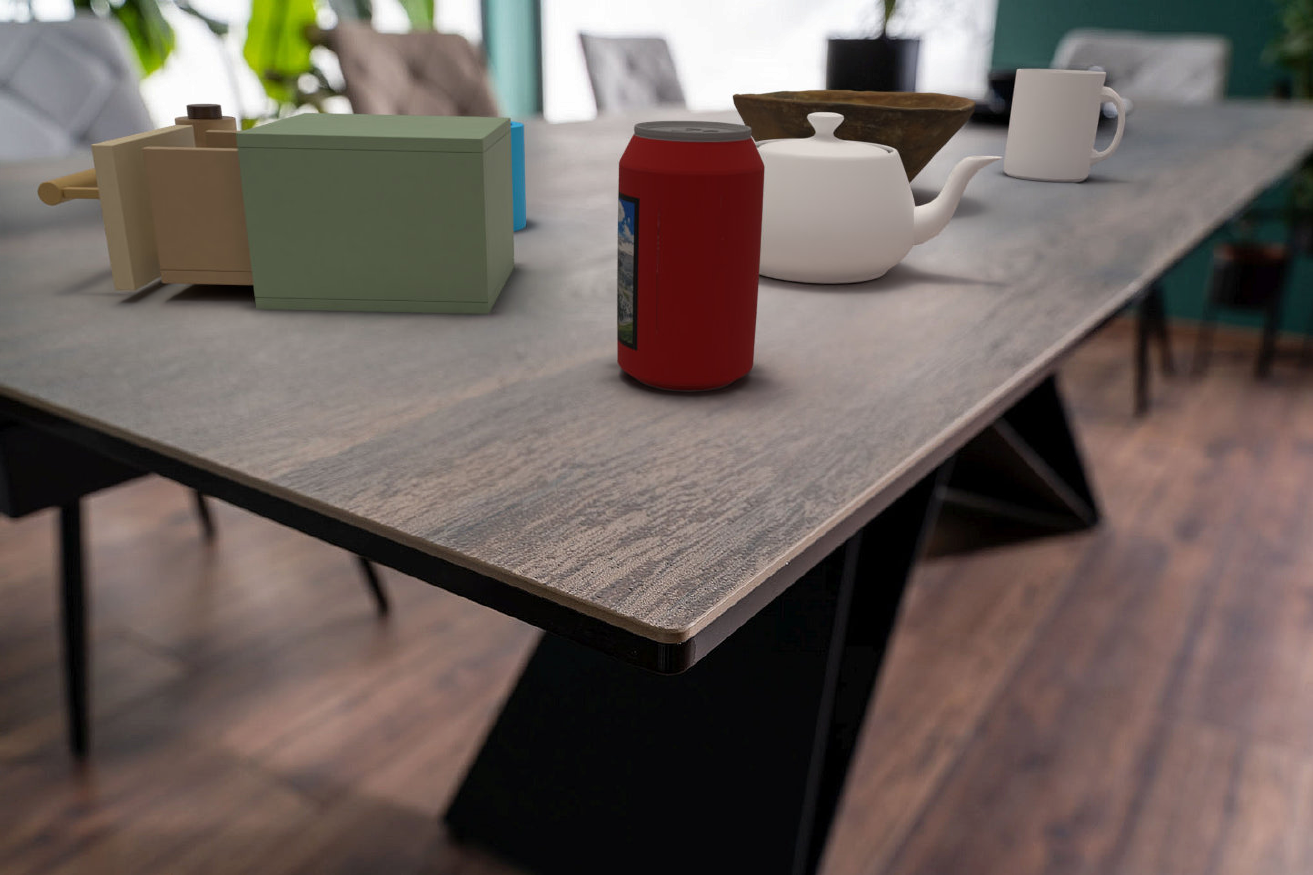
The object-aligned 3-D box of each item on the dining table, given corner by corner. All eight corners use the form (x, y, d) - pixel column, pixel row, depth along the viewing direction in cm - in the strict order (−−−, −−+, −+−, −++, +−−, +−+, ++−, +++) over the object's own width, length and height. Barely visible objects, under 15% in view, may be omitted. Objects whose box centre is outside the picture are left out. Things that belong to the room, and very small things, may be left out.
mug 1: (541, 232, 87) (539, 127, 84) (442, 239, 84) (437, 130, 81) (492, 208, 97) (489, 114, 94) (402, 213, 94) (396, 116, 91)
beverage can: (653, 350, 58) (658, 116, 53) (772, 369, 55) (788, 125, 50) (591, 385, 52) (591, 127, 47) (721, 409, 49) (733, 137, 45)
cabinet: (256, 311, 63) (235, 132, 59) (318, 264, 75) (304, 112, 71) (488, 316, 63) (482, 138, 59) (514, 268, 75) (510, 117, 71)
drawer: (33, 288, 63) (5, 142, 60) (122, 248, 74) (102, 123, 71) (328, 295, 63) (315, 149, 60) (375, 254, 74) (365, 129, 71)
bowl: (867, 180, 120) (876, 85, 116) (1010, 214, 100) (1026, 102, 97) (690, 188, 111) (694, 86, 107) (809, 227, 92) (819, 105, 88)
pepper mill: (178, 221, 88) (162, 106, 85) (200, 211, 92) (186, 102, 89) (235, 222, 88) (221, 108, 85) (254, 213, 92) (242, 103, 89)
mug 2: (994, 170, 129) (1008, 68, 125) (1097, 174, 128) (1114, 71, 124) (1012, 182, 121) (1027, 72, 116) (1122, 186, 120) (1142, 75, 115)
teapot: (649, 280, 72) (652, 113, 68) (693, 242, 85) (698, 99, 81) (988, 308, 68) (1013, 130, 64) (982, 263, 80) (1003, 112, 76)
